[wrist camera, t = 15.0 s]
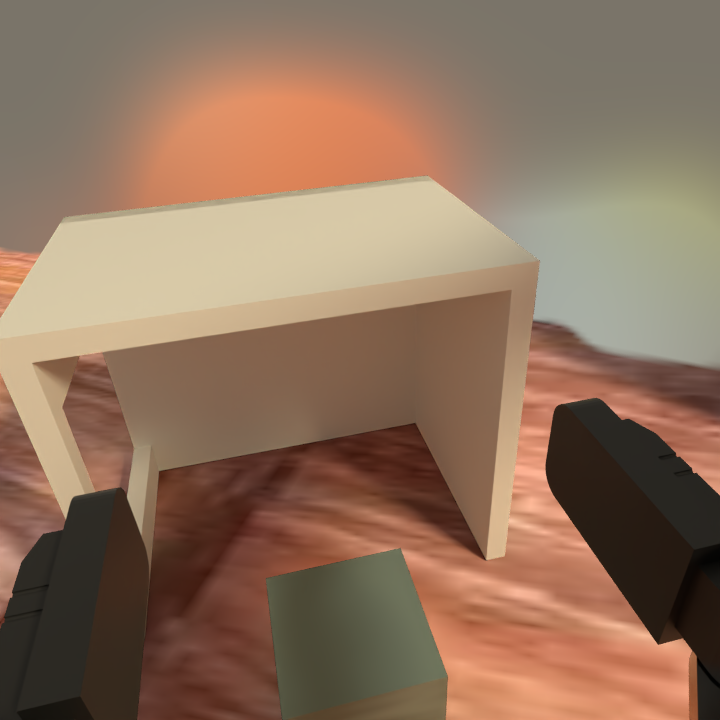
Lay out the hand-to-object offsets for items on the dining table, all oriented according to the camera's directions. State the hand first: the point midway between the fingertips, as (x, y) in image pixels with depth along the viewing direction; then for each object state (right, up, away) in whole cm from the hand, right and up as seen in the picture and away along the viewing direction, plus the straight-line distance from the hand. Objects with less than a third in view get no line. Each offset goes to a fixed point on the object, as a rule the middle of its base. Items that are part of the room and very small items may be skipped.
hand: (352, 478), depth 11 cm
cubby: (-4, -8, +29) cm, 30 cm away
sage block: (0, -17, +15) cm, 22 cm away
